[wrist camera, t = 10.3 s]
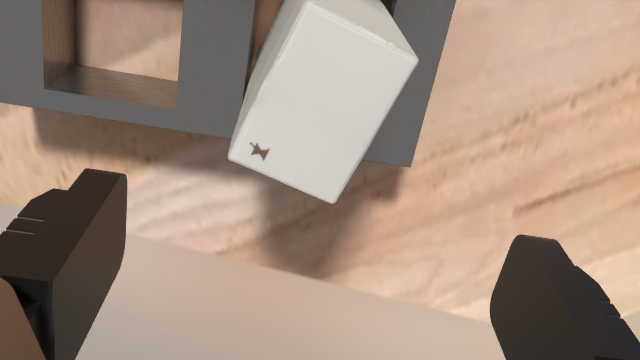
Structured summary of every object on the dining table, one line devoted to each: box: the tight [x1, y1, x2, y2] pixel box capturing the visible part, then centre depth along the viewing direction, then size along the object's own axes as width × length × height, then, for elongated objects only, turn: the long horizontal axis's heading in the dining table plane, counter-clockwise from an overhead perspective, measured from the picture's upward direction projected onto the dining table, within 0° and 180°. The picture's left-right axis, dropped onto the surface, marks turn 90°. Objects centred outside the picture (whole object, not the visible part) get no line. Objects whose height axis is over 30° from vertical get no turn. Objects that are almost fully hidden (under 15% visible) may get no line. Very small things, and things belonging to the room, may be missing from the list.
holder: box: [0, 0, 456, 167], centre depth 28 cm, size 20×10×4 cm, turn 80°
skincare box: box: [228, 0, 419, 204], centre depth 24 cm, size 6×4×12 cm
